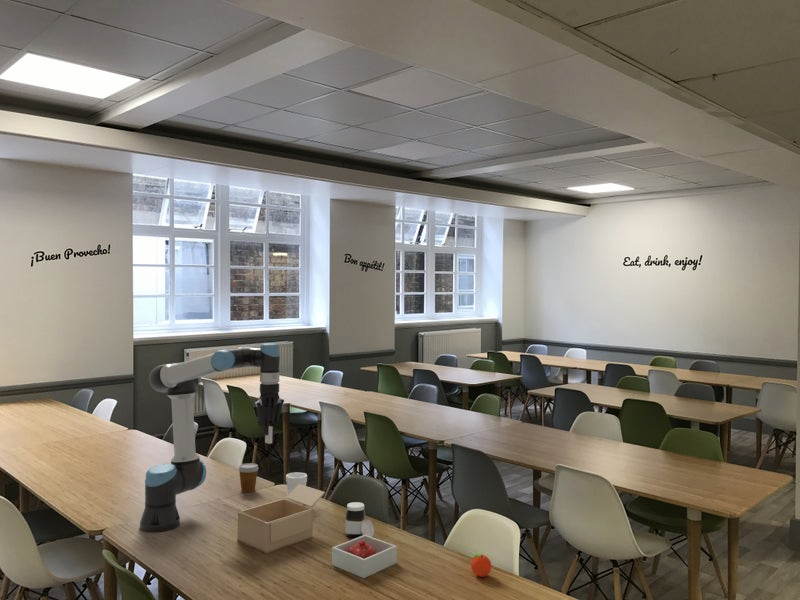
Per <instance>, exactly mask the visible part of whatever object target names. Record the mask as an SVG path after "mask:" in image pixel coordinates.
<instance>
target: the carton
mask: <svg viewBox="0 0 800 600" xmlns="http://www.w3.org/2000/svg"><path fill="white" fill-rule="evenodd" d="M241 511H242V512H244V513H247V514H250V515H252V516H255V517H257V518H260V519H262V520H265V522H263V521H260V520H258V519H255V518H253V517H250V516H248V515H245V514H243V513H240V512H238V511H237V537H236V538H237V541H238V542H240V543H241V544H244V545H247V546H248V547H251V548H254V549H255V550H257V551H260V552H262V553H265V554H269V553H273V552H276V551H278V550H281V549H283V548H286V547H289V546H291V545H295V544H297V543H299V542H303V541H305V540H308V539H311V538H313V527H314V525H313V523H314V519H313V518H314V508H313V507H310V506H307V505H304V504H303V505H300V504H298V503H295V502H292V501H289V499H287V498H281V499H278V500H274V501H272V502H271V501H270V502H267V503H263V504H260V505H256V506H253V507H250V508H247V509H243V510H241Z"/></svg>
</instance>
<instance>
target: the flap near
mask: <svg viewBox="0 0 800 600" xmlns="http://www.w3.org/2000/svg"><path fill="white" fill-rule="evenodd" d="M223 507H226V508H228V509H230V510H233V511H236V512H237V513H238V512H240V513H243V514H245V515H248V516H250V517H253V518H255V519H258V520H260V521H263V522H265V520H262V519H260V518H257V517H255V516H252V515H250V514H247V513H244V512H242V510H239V509H237V508H234V507H231V506H229V505H227V504H223Z"/></svg>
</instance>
